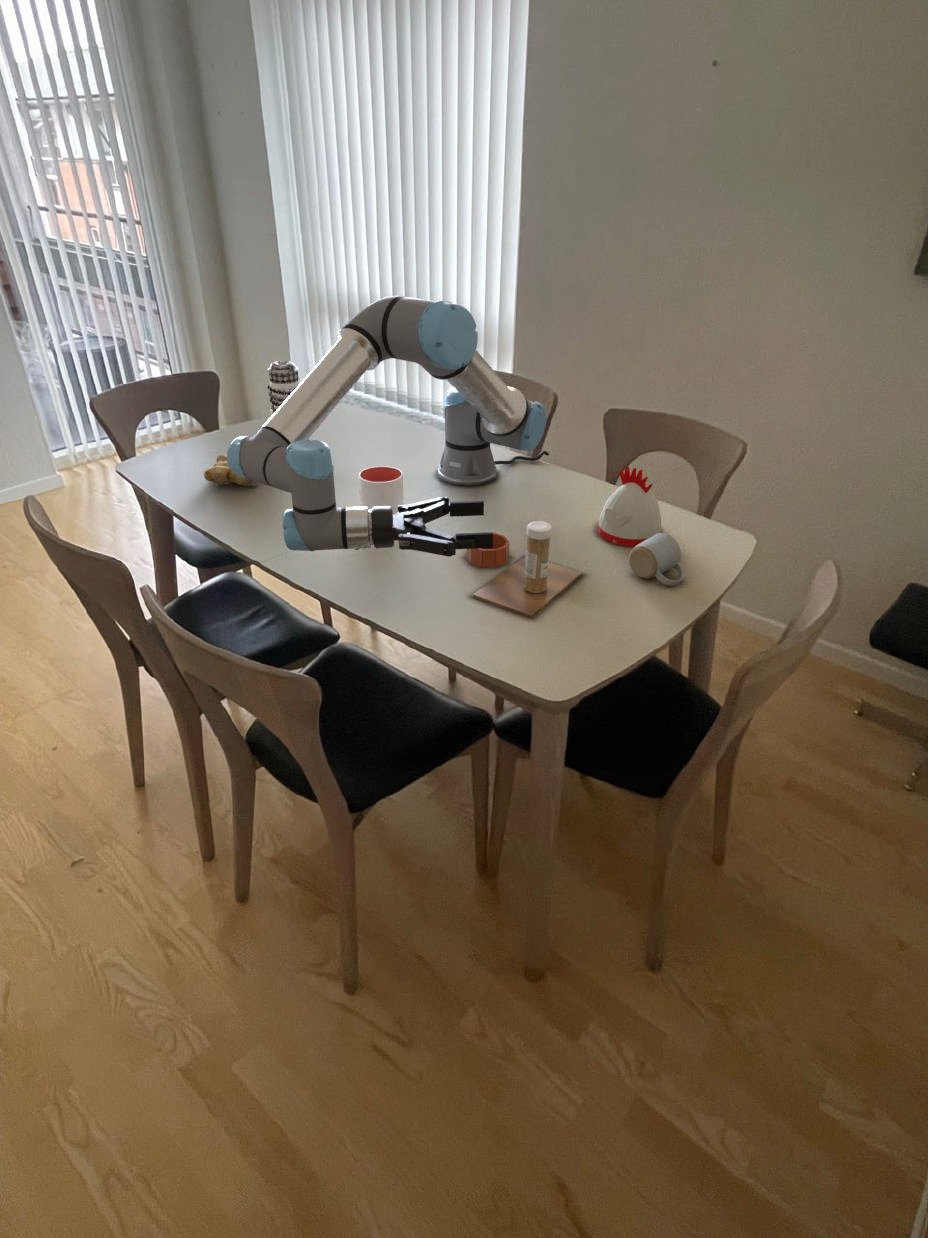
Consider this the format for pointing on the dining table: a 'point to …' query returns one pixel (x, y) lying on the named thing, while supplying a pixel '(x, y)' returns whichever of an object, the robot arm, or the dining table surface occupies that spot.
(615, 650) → the dining table surface
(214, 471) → the ginger root
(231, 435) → the dining table surface
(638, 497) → the kitchen timer
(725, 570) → the dining table surface
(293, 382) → the patterned tall cylinder
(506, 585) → the wooden board
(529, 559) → the sprinkles bottle
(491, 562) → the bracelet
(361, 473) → the cup
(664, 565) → the ceramic mug
